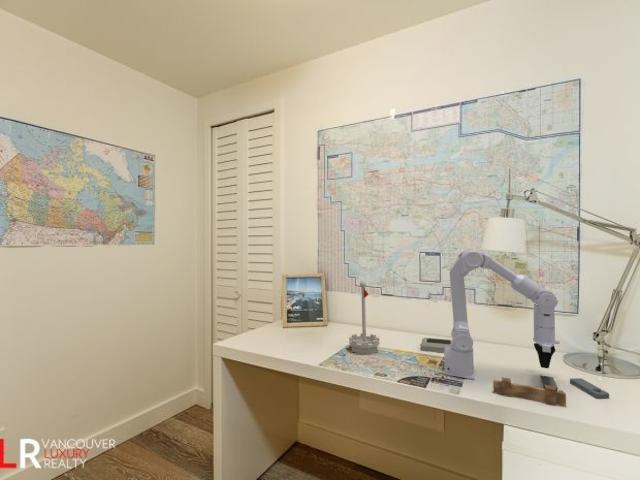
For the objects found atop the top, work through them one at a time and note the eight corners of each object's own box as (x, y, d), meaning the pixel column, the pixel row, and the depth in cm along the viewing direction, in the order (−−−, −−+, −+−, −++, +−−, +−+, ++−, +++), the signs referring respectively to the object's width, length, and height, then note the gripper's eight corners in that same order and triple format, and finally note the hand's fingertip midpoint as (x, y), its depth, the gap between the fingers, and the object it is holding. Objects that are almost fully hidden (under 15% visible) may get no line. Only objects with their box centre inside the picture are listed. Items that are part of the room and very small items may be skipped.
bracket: (581, 384, 105) (581, 377, 105) (610, 400, 95) (609, 393, 95) (569, 384, 105) (569, 378, 105) (596, 400, 95) (596, 393, 95)
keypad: (458, 346, 132) (420, 343, 137) (459, 355, 132) (420, 351, 137) (457, 339, 141) (421, 336, 146) (458, 347, 141) (422, 344, 146)
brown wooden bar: (493, 393, 99) (493, 378, 99) (494, 386, 104) (493, 372, 104) (566, 407, 90) (566, 391, 90) (563, 399, 95) (563, 384, 95)
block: (543, 399, 95) (543, 385, 95) (540, 388, 102) (540, 375, 102) (557, 402, 93) (557, 388, 93) (553, 390, 100) (553, 377, 100)
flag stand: (344, 347, 144) (343, 280, 144) (371, 343, 148) (369, 278, 148) (357, 357, 132) (355, 284, 132) (385, 352, 136) (383, 281, 136)
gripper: (562, 333, 98) (562, 378, 98) (556, 322, 110) (556, 361, 110) (534, 330, 101) (535, 373, 101) (531, 319, 114) (531, 358, 114)
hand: (544, 367), depth 106 cm, fingers closed
